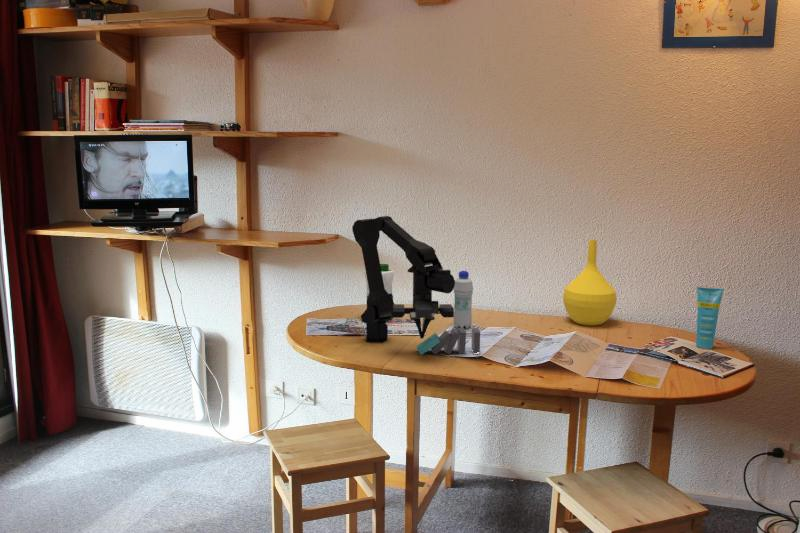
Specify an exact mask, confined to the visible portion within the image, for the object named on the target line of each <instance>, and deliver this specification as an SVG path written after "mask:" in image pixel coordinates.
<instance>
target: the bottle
mask: <svg viewBox="0 0 800 533" xmlns="http://www.w3.org/2000/svg"><path fill="white" fill-rule="evenodd" d="M469 275H470V274H469V271H467V270H461V271H459V272H458V278H455V279H454V280H455V286H454V289H453V294H454V304H453V305H454V307H453V309H454V317H453V325H454V327H455V329H458V328H464V329H466V330H467V329H469V328H471V327H472V323H473V320H472V319H473V315H472V303H473V302H472V300H473V299H472V298H473V294H474V292H473V291H474V286H473V279H470V278H469Z"/></svg>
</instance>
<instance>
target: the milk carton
mask: <svg viewBox="0 0 800 533" xmlns="http://www.w3.org/2000/svg"><path fill="white" fill-rule="evenodd" d="M389 265H390V264H387V263H380V266H381V272H382V277H383V282H384V288H385V290H386V291H387V293H388V294H392V295H393V281H394V275H395V271H394V270H391V269H389ZM363 274H364V276H365V283H366V299H367V298H368V295H369V286H368V281H367V275H366V270H365V271H364V272H363ZM392 319H393V320H394V318H393V317H391V318H390V321H393V320H392ZM386 321H387V322H389V320H386Z"/></svg>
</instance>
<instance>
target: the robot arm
mask: <svg viewBox="0 0 800 533" xmlns="http://www.w3.org/2000/svg"><path fill="white" fill-rule="evenodd" d="M351 227H352V228H351V229H352V233H353V237H354V239H355V242H356V243H357V244H358V245H359V247H360V248H361V252H362V253H361V254H362V258H363V263H364V269H365V271H366V275H367V281H368V286H369V295H368V298H367V297H366V309H365V310H364V311H363V313H361V315H360V319H361V322H362V323H364V324H365V325H366V326H365V327H366V328H365V329H366V335H365V337H366V338H365V342H366V343H371V342H374V343H377V342H378V343H379V342H383V343H384V342H385V343H386V342H387V339H388V338H389V336H388V335H389V334H388V332H389V331H388V330H389V326H388V323H387V322H386V320H390V318H391V317H393V319H394V318H398V319H399V318H403V317H405V315H409V319H410V321H414V324H415V326H416V328H417V330H418V331H417V332H418V334H419V337H420V339H424V338H425V334H426V332H427V329H428V326H429V325H430V323H431V321H435V319H436V318H435V315H436V314H437V315H439V314H440V316H441V317H442V318H454V307H453V306H452V304H449V303H447V304H446V303H444V304H441V303H440V302H439V300H433V292H438V293H442V294H451V293H452V292H453V291H454V286H455V280H456V279H455V277H454V276H453V274H451V273H452V272H451V270H450V269H443V266H442V263H441V262H440V260H439V258H438V255H437V254H436V250H435V248H434V247H432V246H431V245H429V244H427V243H426V242H423V241H419V240H417V239H415V238H414V237H413V236H412V235H410V233H408V232H407V231H406V230H405V229H404V228H403V227H402V226H400V225H399V224H398V223H397V222H396V221H394V219H393V218H392V217H391V216H389V215H383V216H377V217H375V218H365V219H357V220H355V221H354V223H353V224H352V226H351ZM380 232H382V233H383V234H384V235H385V236H386V237H388V238H389V239H390V240H391V241H392V242H393V243H395V244H396V245H397V246H398V247H399V248H400V249H401V250H402V251H403V253H404V254H405V257H406V259H407V261H408V262H409V263H410V264H411V266H410V267H409V268H408V269H407V272H408V273H411V274H412V307H405V304H397V303H396V304H395V302H394V296H393V293H392V294H388V293H387V291H386V290H385V288H384V282H383V277H382V272H381V266H380V264H381V261H380V256H379V251H378V250H379V249H378V243H379V240H380V236H381V235H380ZM439 303H440V304H439ZM421 319H422V323H421ZM390 321H391V320H390Z"/></svg>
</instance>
